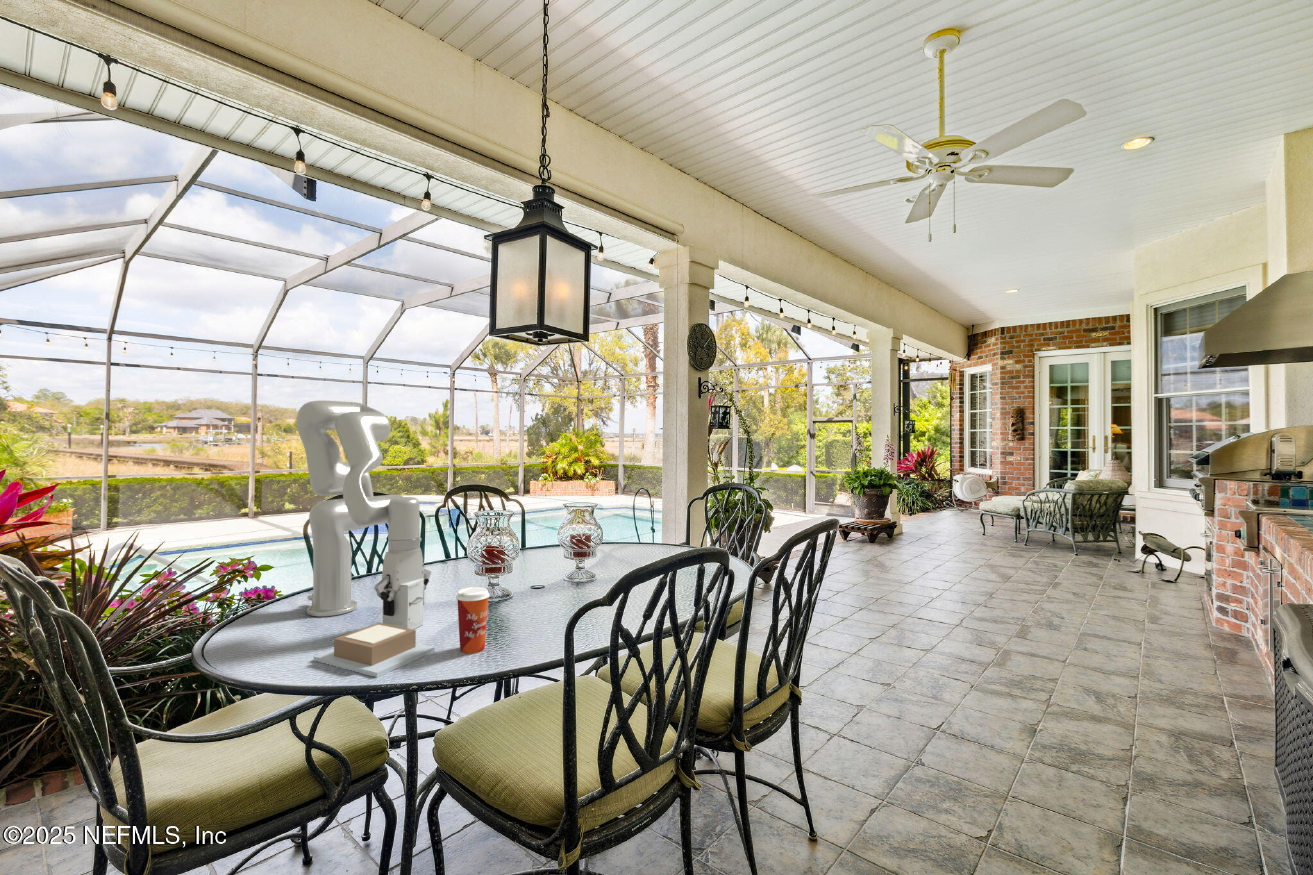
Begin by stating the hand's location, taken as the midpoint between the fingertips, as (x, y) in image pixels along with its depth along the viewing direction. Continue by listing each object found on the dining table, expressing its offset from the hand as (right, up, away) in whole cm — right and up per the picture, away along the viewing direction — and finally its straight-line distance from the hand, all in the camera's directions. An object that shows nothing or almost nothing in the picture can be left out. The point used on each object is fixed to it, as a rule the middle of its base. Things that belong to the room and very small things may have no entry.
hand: (404, 610), depth 151 cm
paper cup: (+22, -6, -13) cm, 26 cm away
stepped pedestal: (+1, -5, -18) cm, 19 cm away
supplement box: (0, -5, 0) cm, 5 cm away
